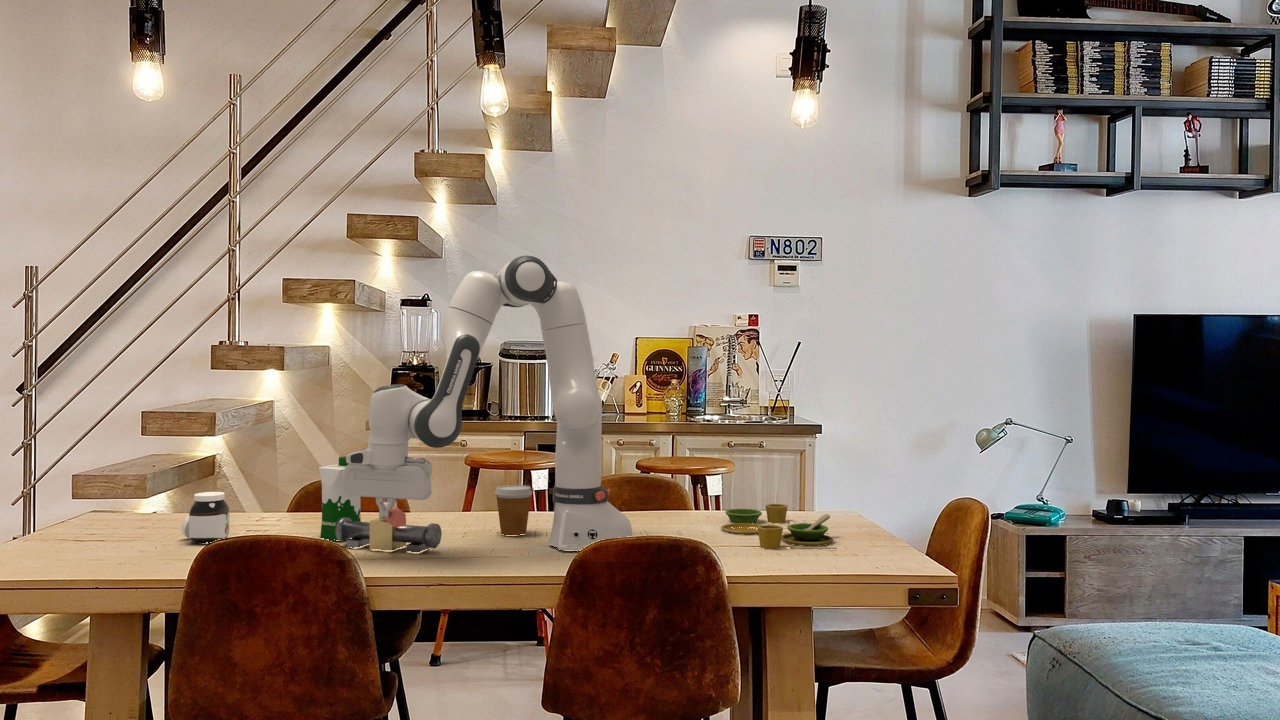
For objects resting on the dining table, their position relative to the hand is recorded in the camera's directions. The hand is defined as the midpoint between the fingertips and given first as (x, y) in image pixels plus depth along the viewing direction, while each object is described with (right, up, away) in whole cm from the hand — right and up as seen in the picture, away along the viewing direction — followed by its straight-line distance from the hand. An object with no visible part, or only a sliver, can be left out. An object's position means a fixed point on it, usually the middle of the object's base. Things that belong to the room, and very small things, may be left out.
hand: (385, 517), depth 215 cm
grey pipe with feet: (-2, -9, +9) cm, 13 cm away
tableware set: (+92, -10, +31) cm, 98 cm away
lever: (0, -2, +4) cm, 5 cm away
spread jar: (-49, -9, +18) cm, 53 cm away
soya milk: (-17, -9, +21) cm, 29 cm away
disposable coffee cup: (+25, -9, +28) cm, 39 cm away
